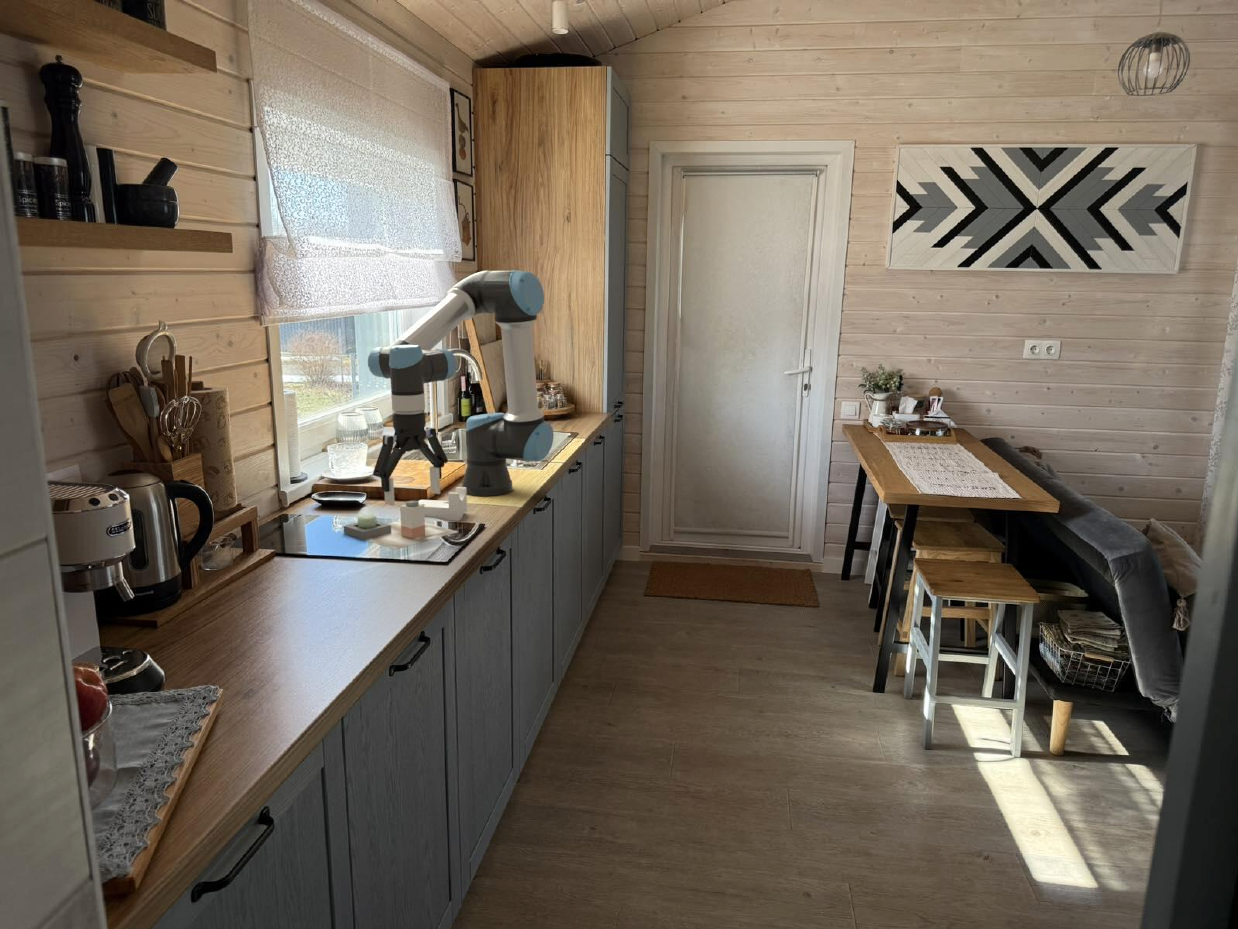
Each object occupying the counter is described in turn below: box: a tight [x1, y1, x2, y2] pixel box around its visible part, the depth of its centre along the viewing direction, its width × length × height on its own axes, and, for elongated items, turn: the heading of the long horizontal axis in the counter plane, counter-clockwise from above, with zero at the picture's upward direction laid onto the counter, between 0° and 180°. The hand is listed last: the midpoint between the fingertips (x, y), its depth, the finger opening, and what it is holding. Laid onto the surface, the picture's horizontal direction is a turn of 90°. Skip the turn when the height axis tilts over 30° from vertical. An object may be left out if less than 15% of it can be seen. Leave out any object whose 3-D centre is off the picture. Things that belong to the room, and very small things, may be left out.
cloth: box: [365, 520, 458, 550], centre depth 212 cm, size 21×21×1 cm
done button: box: [357, 514, 378, 529], centre depth 210 cm, size 4×4×2 cm
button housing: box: [343, 520, 391, 541], centre depth 211 cm, size 8×8×2 cm
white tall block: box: [399, 500, 426, 539], centre depth 209 cm, size 4×4×8 cm
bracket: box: [417, 486, 468, 522], centre depth 230 cm, size 13×7×8 cm, turn 82°
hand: (413, 498), depth 208 cm, fingers open, 13 cm apart
